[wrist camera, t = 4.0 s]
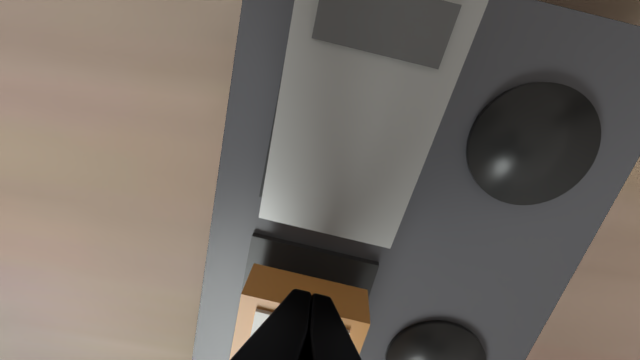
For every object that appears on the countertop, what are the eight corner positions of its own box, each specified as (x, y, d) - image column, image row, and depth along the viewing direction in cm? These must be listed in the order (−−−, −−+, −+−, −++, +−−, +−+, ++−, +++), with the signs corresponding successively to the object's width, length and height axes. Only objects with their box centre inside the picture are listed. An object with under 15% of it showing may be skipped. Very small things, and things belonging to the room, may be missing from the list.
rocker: (386, 218, 9) (390, 251, 8) (270, 191, 9) (257, 220, 8) (471, -10, 7) (494, -10, 5) (312, -49, 7) (303, -59, 5)
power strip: (402, 475, 17) (414, 564, 14) (199, 430, 17) (169, 510, 14) (607, 45, 11) (712, 42, 8) (277, -38, 10) (250, -75, 7)
